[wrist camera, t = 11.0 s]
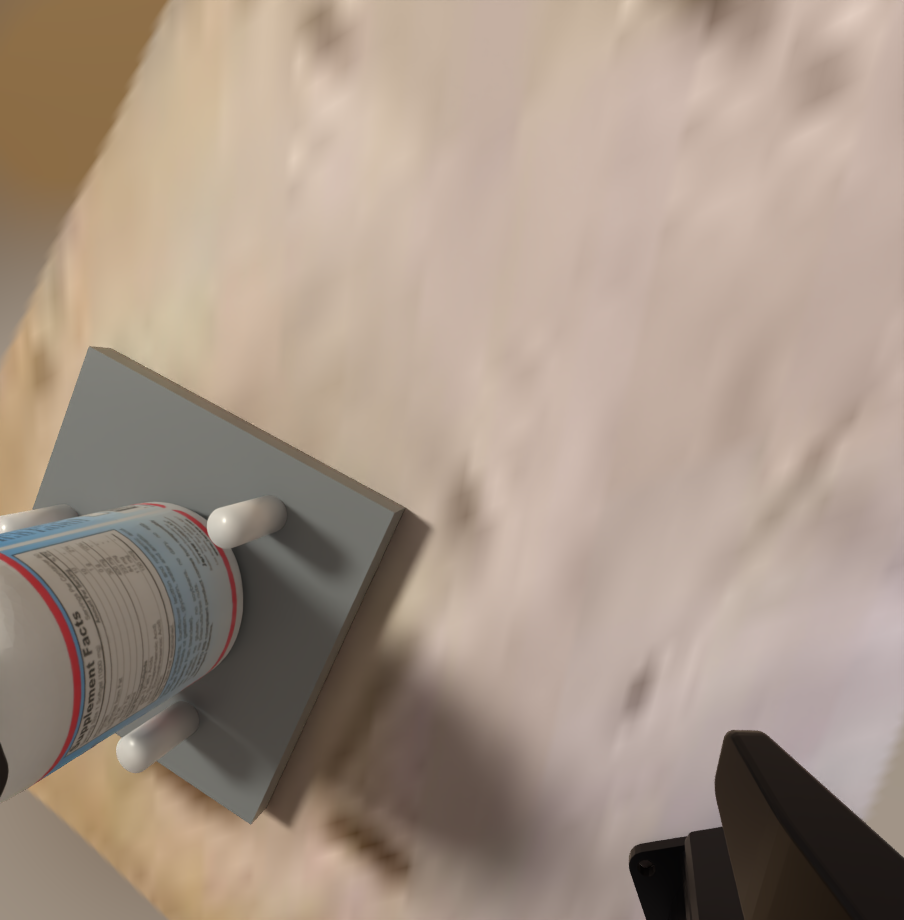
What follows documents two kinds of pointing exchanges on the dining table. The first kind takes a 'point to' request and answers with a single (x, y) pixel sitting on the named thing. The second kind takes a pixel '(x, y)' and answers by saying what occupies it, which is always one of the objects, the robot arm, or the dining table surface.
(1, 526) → the pin tray
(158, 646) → the pill bottle
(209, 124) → the dining table surface
